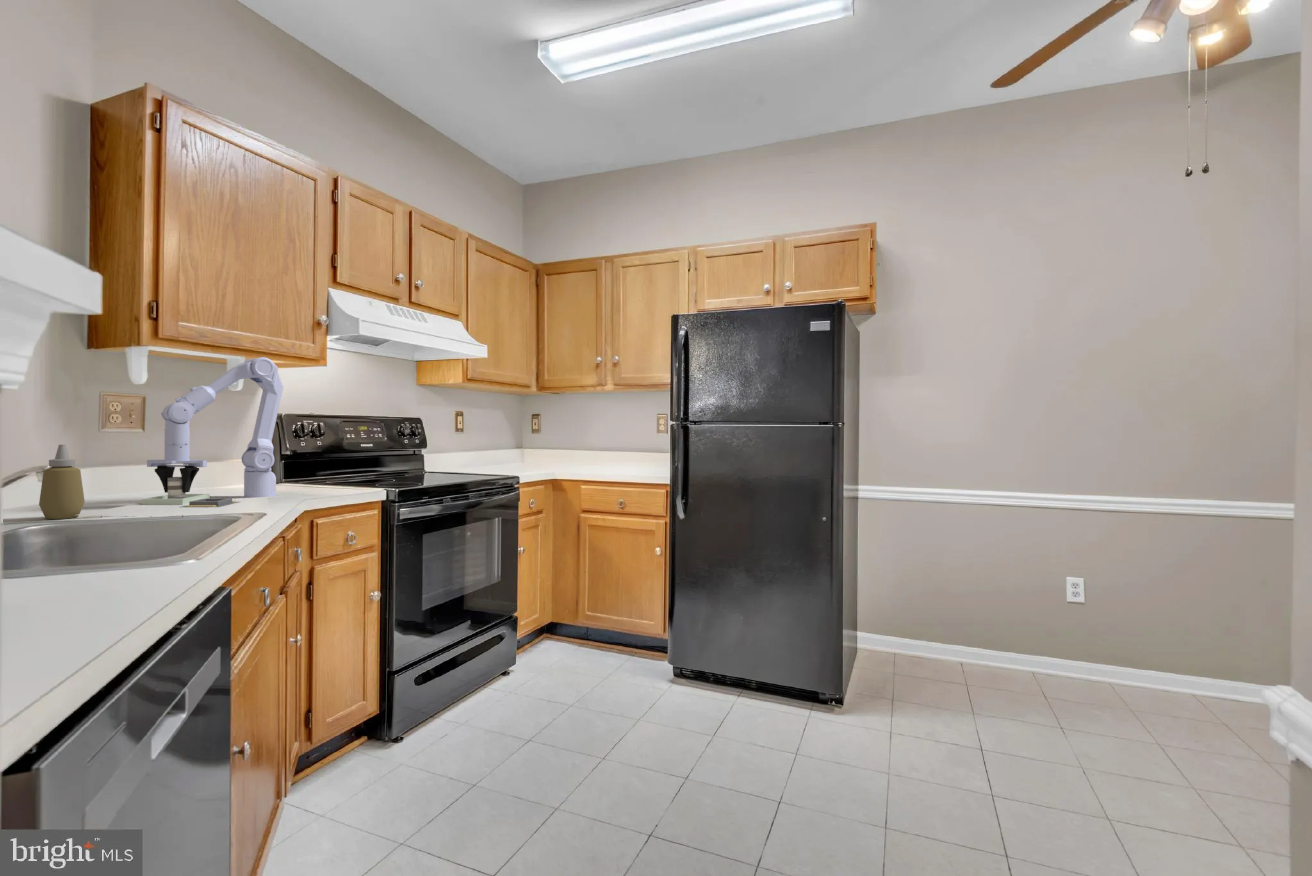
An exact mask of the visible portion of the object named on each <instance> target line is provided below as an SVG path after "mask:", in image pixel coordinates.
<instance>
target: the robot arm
mask: <svg viewBox="0 0 1312 876" xmlns="http://www.w3.org/2000/svg"><path fill="white" fill-rule="evenodd" d="M243 379H250V380H252V381H253V382H255V383H256V384H257V385H258V387H260V389H261V390H262V393H261V398H260V402H259V406H258V411H257V415H256V420H255V425H254V429H253V434H252V439H251V440H250V441H249V443H248V444H247V447H246V450H245V451H244V452H243V453H242V455H241V463H242V465H243V466H244V467H245V468H244V469H243V497H244V498H251V499H252V498H267V497H279V496H280V495H277V475H276V474H275V473H274V472H273V471H272V467H273V466H274V465H275V456H274V448H275V447H274V445H273V442H272V440H273V437H274V431H275V428H276V427H275V426H276V423H277V417H278V412H279V409H280V404H281V398H282V394H283V390H284V386H283V382H282V380H281V377H280V373H279V367H278V366H277V365H276V364H275V363H274V361H272V359H270V358H269V357H266V356H264V357H263V356H261V357H260V356H259V357H256V358H248V359H246V360H245V361H243V362H240V363H238V364H237V365H235V366H233V367H232V368H230V369H229V370H227V371H226V372H225V373H223V374H222V375H220V376H219V377H218V378H217V379H215V380H214V381H212V382H211V383H209V384H208V385H198V386H197V387H196V386H192V387H189V388H190V389H189V390H190V391H189V392H186V394H184V395H182V396H181V397H176V398H175V399H174V401H175V402H174V403H173V402H172V403H169V404H167V405H165V407H164V408H163V410H162V412H161V413H160V414H161V417H162V419H163V420H164V459H148V460H146V467H147V468H152V467H153V468H154V472H155V474H156V475H157V476H158V477H159V480H160V482H161V484H162V488H163V491H164V493H165V494H166V493H167V494H168V487H167V485H168V481H167V478H168V477H174V473H175V469H176V468H179V472H180V475H181V476H180V477H182V491H183V493H185V494H187V493H190V491H191V487H192V484H193V481H194V479H195V477H196V476H197V474H198V473H199V471H200V468H207V467H208V460H207V459H205V460H204V459H190V457H191V456H190V455H191V454H190V453H191V450H190V449H191V447H190V446H191V444H190V443H191V441H190V439H191V436H190V435H191V430H190V421H191V420H192V419H193V417H194V415H195V414H198V413H199V412H200V411H202V410H203V409H205V408H206V407H208V406H209V405H211V404H212V403H214V402H215V401H216V396H217V395H218V394H219V393H221V392H222V391H223V390H225V389H227V388H228V387H230V386H232V385H233V384H235V383H237V382H238V381H240V380H243Z"/></svg>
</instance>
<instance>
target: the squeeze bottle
mask: <svg viewBox="0 0 1312 876" xmlns="http://www.w3.org/2000/svg"><path fill="white" fill-rule="evenodd" d="M75 466H76V459H74V458H70V455H69V452H68V448H67V445H66V444H58V446H57V450H56V453H55V457H54V459H49V460H48V468H46V469H44V470H43V472H42V481H41V486H40V487H41V488H40V494H39V501H38V502H39V503H38V506H39V508H40V510H41V512H42V514H43V517H44V518H45V520H68V519H73V518H78V517H79V515H80V514H81V512H82V509H83V507H84V504H85V502H86V501H85V495H84V494H85V493H84V487H83V479H82V473H81V469H80V468H78V467H75Z"/></svg>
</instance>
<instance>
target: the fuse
mask: <svg viewBox="0 0 1312 876" xmlns="http://www.w3.org/2000/svg"><path fill="white" fill-rule="evenodd" d="M167 481H168V485H167V487H168V493H167V494H166V495H167V499H182V498H186V494H187V493H183V491H182V476H173V477H168V478H167Z"/></svg>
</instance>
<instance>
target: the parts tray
mask: <svg viewBox="0 0 1312 876" xmlns="http://www.w3.org/2000/svg"><path fill="white" fill-rule="evenodd" d="M185 494H186V498H182V499H167V495H168V494H164V495H163V494H162V495H158V496H152V497H147V498H142V499H141V506H168V505H169V506H174V505H175V506H179V505H180V506H181V505H182V506H185V505H189V502H190V501H195V500H199V499H204V498H211V497H210V495H211V494H210V493H185Z"/></svg>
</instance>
